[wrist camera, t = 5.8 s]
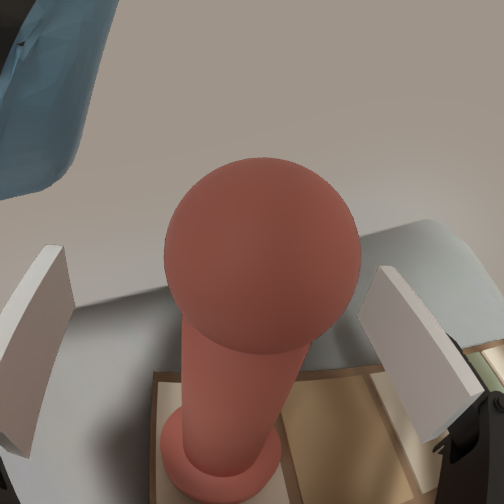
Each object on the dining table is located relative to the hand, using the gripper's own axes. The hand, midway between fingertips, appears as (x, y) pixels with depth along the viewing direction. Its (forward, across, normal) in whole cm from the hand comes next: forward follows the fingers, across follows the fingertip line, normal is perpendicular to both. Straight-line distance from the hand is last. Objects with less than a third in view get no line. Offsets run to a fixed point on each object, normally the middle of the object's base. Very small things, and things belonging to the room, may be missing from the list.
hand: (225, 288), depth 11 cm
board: (-4, +12, -8) cm, 15 cm away
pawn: (-4, 0, -7) cm, 8 cm away
